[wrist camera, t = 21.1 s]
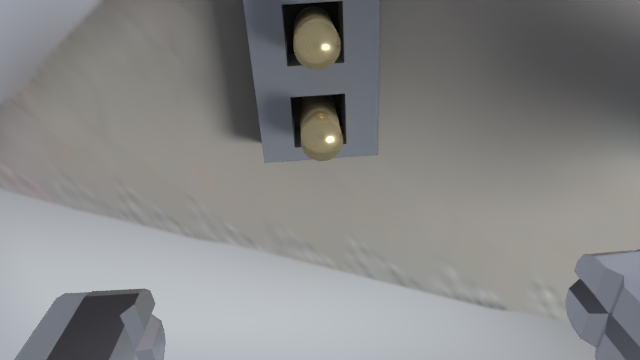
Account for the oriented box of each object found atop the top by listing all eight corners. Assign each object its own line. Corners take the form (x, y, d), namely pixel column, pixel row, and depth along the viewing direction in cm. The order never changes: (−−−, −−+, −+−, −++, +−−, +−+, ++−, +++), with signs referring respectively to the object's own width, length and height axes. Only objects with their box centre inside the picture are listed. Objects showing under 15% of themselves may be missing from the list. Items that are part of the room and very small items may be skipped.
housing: (246, -17, 33) (241, -12, 30) (371, -25, 34) (380, -21, 30) (267, 144, 40) (264, 162, 37) (370, 136, 40) (377, 154, 37)
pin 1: (331, 5, 34) (340, 19, 28) (332, 44, 36) (341, 68, 29) (292, 7, 34) (291, 23, 27) (295, 47, 36) (295, 71, 29)
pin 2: (334, 88, 38) (342, 120, 31) (335, 121, 39) (343, 159, 33) (298, 91, 38) (299, 123, 31) (301, 124, 39) (302, 162, 32)
